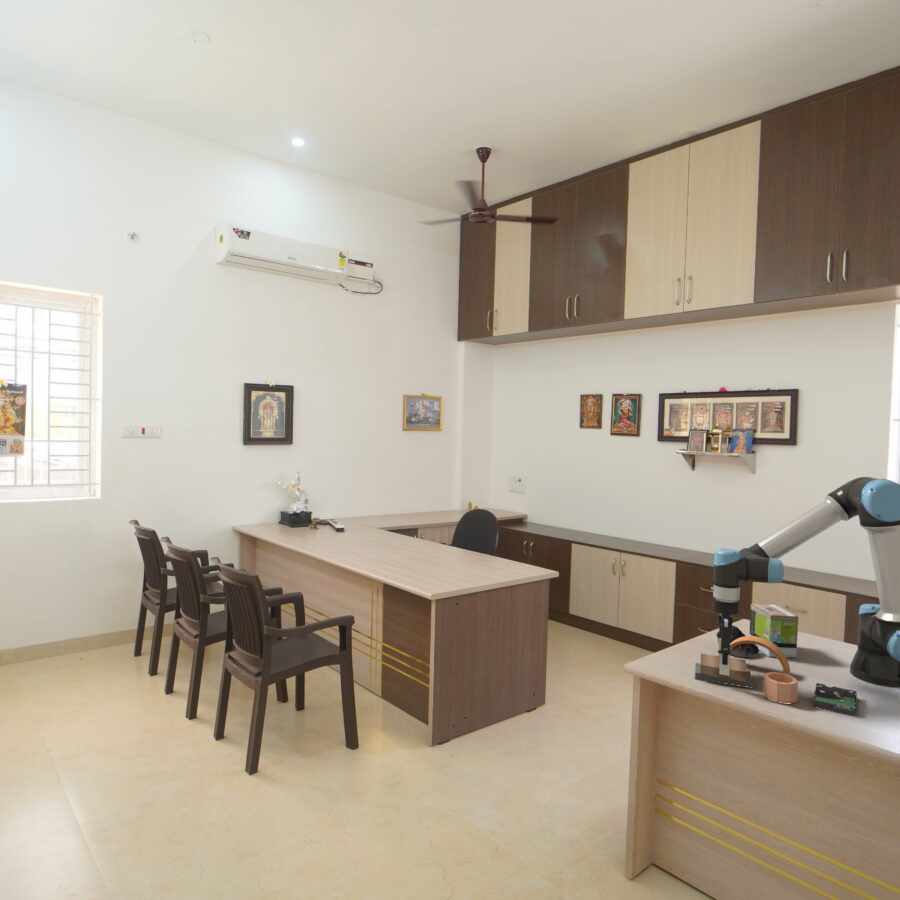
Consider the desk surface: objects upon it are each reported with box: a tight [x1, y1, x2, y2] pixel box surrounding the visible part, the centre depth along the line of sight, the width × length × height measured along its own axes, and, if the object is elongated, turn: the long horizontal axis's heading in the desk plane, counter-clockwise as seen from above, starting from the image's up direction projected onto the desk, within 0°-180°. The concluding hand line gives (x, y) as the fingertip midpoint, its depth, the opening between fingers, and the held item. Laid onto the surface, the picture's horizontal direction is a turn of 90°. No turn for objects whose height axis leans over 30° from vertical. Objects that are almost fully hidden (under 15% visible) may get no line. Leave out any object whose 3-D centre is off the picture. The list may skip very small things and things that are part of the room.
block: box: [694, 662, 753, 688], centre depth 195 cm, size 16×9×2 cm, turn 68°
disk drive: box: [812, 682, 858, 718], centre depth 179 cm, size 10×3×15 cm
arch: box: [730, 635, 791, 675], centre depth 204 cm, size 6×20×10 cm, turn 54°
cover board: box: [700, 653, 748, 682], centre depth 195 cm, size 13×11×3 cm
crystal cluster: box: [716, 625, 760, 658], centre depth 220 cm, size 13×14×10 cm
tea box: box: [748, 603, 799, 658], centre depth 222 cm, size 15×10×15 cm
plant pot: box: [763, 671, 799, 704], centre depth 181 cm, size 8×8×6 cm
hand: (723, 666), depth 195 cm, fingers open, 13 cm apart
